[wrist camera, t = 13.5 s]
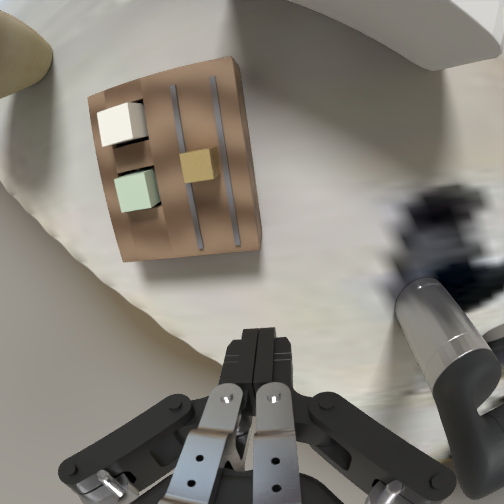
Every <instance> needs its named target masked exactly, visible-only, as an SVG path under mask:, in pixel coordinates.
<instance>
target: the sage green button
mask: <svg viewBox="0 0 504 504" xmlns="http://www.w3.org/2000/svg"><path fill="white" fill-rule="evenodd" d="M114 182H115V186H116V191H117V195H118V200H119V204H120V208H121V212H122V213H123V212H129V211H134V210H140V209H146V208H152V207H153V206H154V205H156V204H157V203H159V202H160V201H161V199H160V194H159V189H158V184H157V179H156V174H155V169H154V168H149V169H144V170H140V171H135V172H132V173H129V174H127V175H124V176H122V177H119V178H117V179H114Z"/></svg>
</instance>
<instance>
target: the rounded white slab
mask: <svg viewBox="0 0 504 504" xmlns="http://www.w3.org/2000/svg"><path fill="white" fill-rule="evenodd" d="M287 1H290V2H293V3H295V4H298V5H301V6H303V7H306V8H309V9H311V10H314V11H316V12H318V13H321V14H323V15H325V16H328V17H330V18H332V19H334V20H337V21H339V22H341V23H343V24H345V25H347V26H349V27H351V28H353V29H355V30H357V31H359V32H361V33H363V34H365V35H367V36H369V37H371V38H372V39H374V40H376V41H378V42H380V43H381V44H383V45H385V46H387V47H388V48H390V49H392V50H393V51H395V52H397V53H398V54H400V55H401V56H403V57H405V58H406V59H408V60H409V61H411V62H412V63H414V64H416V65H418V66H419V67H421V68H424V69H427V70H430V71H439V70H443V69H447V68H451V67H455V66H459V65H463V64H468V63H472V62H477V61H482V60H487V59H492V58H496V57H498V56H499V55H501V54H502V51H503V46H504V5H503V4H502V2H501V1H500V0H287Z"/></svg>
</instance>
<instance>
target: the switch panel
mask: <svg viewBox="0 0 504 504" xmlns="http://www.w3.org/2000/svg"><path fill="white" fill-rule="evenodd" d="M140 100H143V103H144V110H145V116H146V123H147V129H148V135H149V140H146V141H142V142H138V143H134V144H130V145H126V146H125V143H120V144H114V145H109V146H104V147H102V143H101V137H100V131H99V124H98V118H97V113H98V112H100V111H103V110H106V109H109V108H112V107H115V106H118V105H121V104H124V103H127V102H129V103H133V102H137V101H140ZM88 104H89V112H90V119H91V126H92V132H93V138H94V144H95V149H96V155H97V160H98V165H99V170H100V175H101V180H102V184H103V189H104V193H105V197H106V202H107V206H108V210H109V214H110V218H111V221H112V225H113V229H114V233H115V236H116V240H117V243H118V247H119V250H120V254H121V257H122V260H123V262H133V261H144V260H155V259H166V258H177V257H188V256H199V255H210V254H221V253H232V252H243V251H254V250H259V249H260V243H261V237H262V227H261V219H260V211H259V204H258V196H257V189H256V182H255V174H254V167H253V160H252V153H251V145H250V138H249V131H248V124H247V117H246V110H245V103H244V96H243V89H242V83H241V76H240V69H239V66H238V64H237V63H236V62H235V60H234V59H233V57H232V56H231V57H225V58H219V59H214V60H209V61H204V62H200V63H195V64H191V65H186V66H182V67H178V68H174V69H170V70H167V71H163V72H159V73H156V74H153V75H149V76H146V77H143V78H139V79H136V80H133V81H130V82H127V83H124V84H121V85H118V86H116V87H113V88H110V89H107V90H105V91H102V92H99V93H97V94H94V95H92V96H89V97H88ZM215 146H216V148H217V154H218V161H219V167H220V174H219V175H218V176H217V177H216V178H214V179H210V180H204V181H197V182H191V183H184V177H183V172H182V166H181V161H180V155H179V154H181V153H184V152H187V151H191V150H197V149H203V148H209V147H215ZM152 165H154V169H155V174H156V179H157V184H158V189H159V194H160V199H161V203H162V205H159V206H153V207H152V208H146V209H140V210H134V211H129V212H123V213H122V212H121V208H120V204H119V200H118V195H117V191H116V186H115V182H114V179H117V178H119V177H122V176H124V175H127V174H129V173H130V170H133V169H138V168H142V167H147V166H152Z"/></svg>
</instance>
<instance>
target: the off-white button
mask: <svg viewBox="0 0 504 504" xmlns="http://www.w3.org/2000/svg"><path fill="white" fill-rule="evenodd" d="M97 118H98V124H99V131H100V137H101V143H102V147H104V146H109V145H114V144H120V143H125V142H128V141H132V140H136V139H140V138H144V137H148V136H149V135H148V129H147V123H146V116H145V110H144V104H141V103H129V102H127V103H124V104H121V105H118V106H115V107H112V108H109V109H106V110H103V111H100V112H98V113H97Z"/></svg>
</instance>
